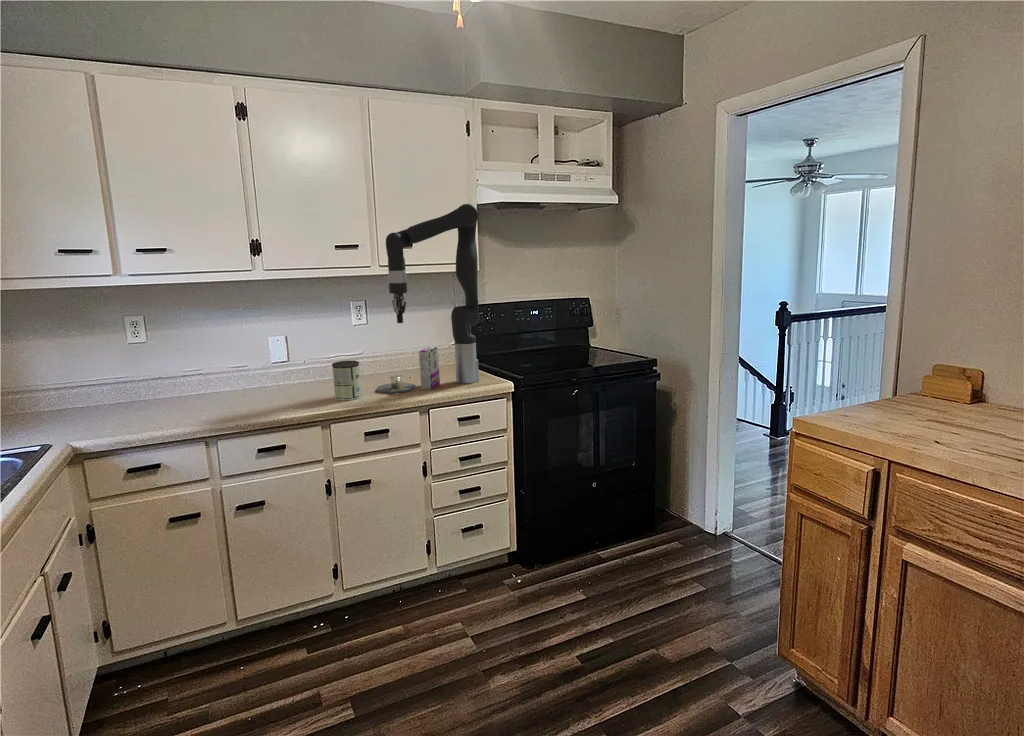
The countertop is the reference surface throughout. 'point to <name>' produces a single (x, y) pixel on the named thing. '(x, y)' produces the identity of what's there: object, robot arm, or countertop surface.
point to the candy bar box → (429, 368)
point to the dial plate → (390, 390)
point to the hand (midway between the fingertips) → (400, 322)
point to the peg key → (396, 380)
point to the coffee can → (346, 380)
